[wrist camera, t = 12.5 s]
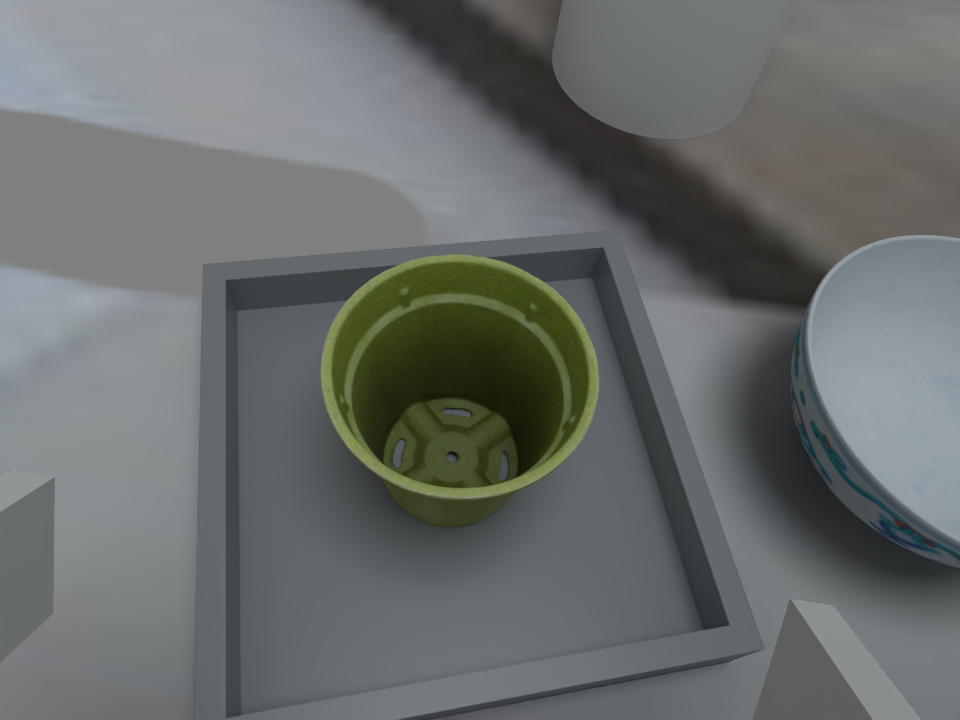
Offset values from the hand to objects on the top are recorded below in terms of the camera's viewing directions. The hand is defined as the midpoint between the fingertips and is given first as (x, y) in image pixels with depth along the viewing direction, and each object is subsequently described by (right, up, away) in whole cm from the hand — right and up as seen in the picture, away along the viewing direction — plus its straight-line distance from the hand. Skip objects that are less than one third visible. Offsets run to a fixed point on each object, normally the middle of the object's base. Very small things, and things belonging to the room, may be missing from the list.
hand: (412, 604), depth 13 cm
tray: (0, -1, +20) cm, 20 cm away
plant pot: (0, 0, +19) cm, 19 cm away
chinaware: (+21, -1, +22) cm, 30 cm away
